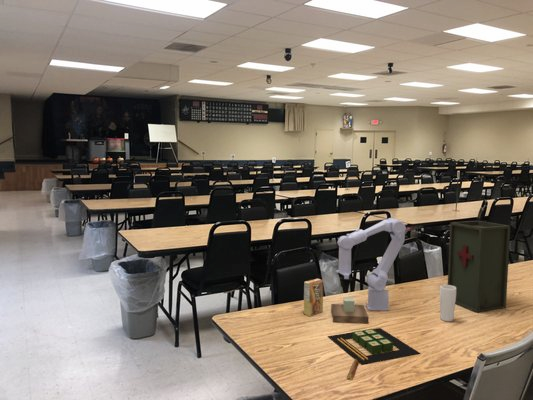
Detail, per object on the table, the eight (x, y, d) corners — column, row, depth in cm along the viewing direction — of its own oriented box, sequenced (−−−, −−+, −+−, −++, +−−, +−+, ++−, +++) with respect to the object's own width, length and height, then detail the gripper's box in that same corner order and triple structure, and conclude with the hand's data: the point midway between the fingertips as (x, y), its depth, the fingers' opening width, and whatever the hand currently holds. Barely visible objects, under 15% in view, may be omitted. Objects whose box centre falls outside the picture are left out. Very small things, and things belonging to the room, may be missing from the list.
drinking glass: (455, 318, 190) (456, 285, 188) (454, 323, 184) (456, 290, 182) (438, 316, 192) (440, 283, 191) (438, 321, 186) (439, 288, 185)
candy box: (316, 309, 200) (317, 278, 199) (323, 312, 197) (323, 280, 196) (303, 314, 195) (303, 281, 193) (309, 316, 192) (310, 283, 190)
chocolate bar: (345, 379, 137) (345, 373, 137) (352, 363, 148) (352, 357, 148) (353, 381, 136) (353, 374, 136) (359, 364, 148) (359, 358, 147)
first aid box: (505, 308, 203) (510, 225, 199) (477, 313, 196) (481, 228, 192) (474, 296, 220) (477, 220, 216) (446, 300, 213) (450, 222, 209)
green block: (353, 308, 193) (353, 297, 193) (354, 312, 189) (354, 301, 188) (343, 308, 194) (343, 297, 193) (344, 311, 189) (344, 300, 189)
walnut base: (363, 311, 198) (363, 305, 198) (368, 323, 184) (368, 316, 183) (331, 310, 200) (331, 304, 199) (333, 322, 185) (333, 315, 185)
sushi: (327, 338, 170) (327, 329, 170) (380, 329, 178) (380, 321, 178) (361, 366, 146) (361, 356, 146) (420, 355, 155) (420, 345, 155)
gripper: (334, 257, 207) (334, 285, 208) (338, 265, 192) (337, 294, 194) (349, 258, 206) (348, 285, 208) (353, 265, 192) (353, 294, 193)
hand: (344, 289), depth 201 cm, fingers open, 7 cm apart
